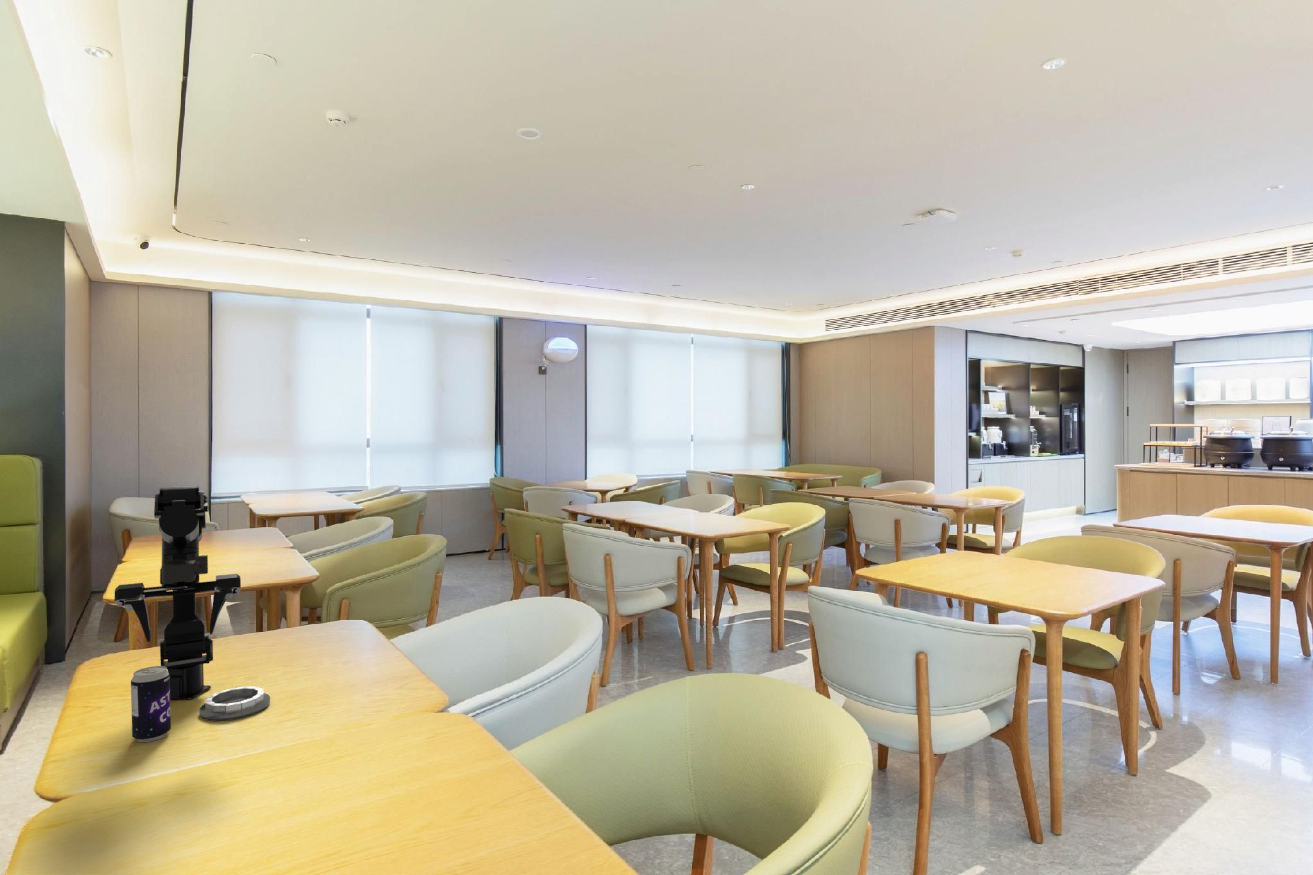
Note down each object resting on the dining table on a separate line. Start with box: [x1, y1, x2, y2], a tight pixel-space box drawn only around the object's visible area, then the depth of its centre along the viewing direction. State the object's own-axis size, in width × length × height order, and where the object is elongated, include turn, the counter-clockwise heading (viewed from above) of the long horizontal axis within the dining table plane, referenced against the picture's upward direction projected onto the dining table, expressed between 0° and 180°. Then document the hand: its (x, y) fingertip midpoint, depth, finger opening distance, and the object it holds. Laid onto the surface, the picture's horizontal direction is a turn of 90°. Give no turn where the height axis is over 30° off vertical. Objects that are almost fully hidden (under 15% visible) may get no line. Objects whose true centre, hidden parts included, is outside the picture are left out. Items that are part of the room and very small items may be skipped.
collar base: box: [198, 686, 271, 722], centre depth 143 cm, size 12×12×2 cm
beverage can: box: [130, 665, 172, 743], centre depth 130 cm, size 6×6×12 cm
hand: (180, 638), depth 128 cm, fingers open, 9 cm apart
